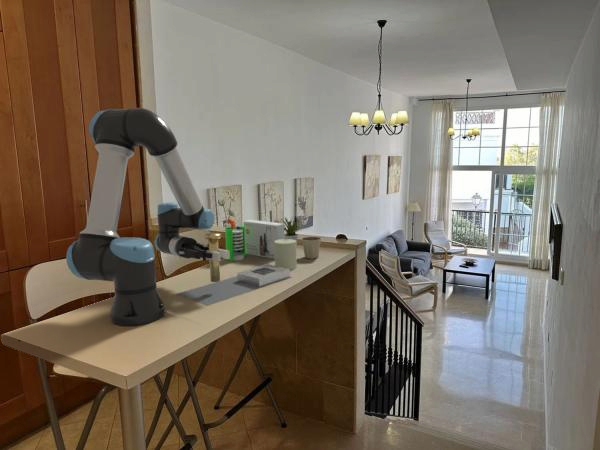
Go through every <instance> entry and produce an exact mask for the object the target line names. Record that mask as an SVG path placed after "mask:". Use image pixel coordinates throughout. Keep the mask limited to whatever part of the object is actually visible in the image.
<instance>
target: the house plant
mask: <svg viewBox="0 0 600 450" xmlns="http://www.w3.org/2000/svg"><path fill="white" fill-rule="evenodd" d="M292 217H293V215H291V217H290V218H292ZM283 218H284V220H283V219H282V218H280V217H279V220H280V223H282V224H284V239H293V240H296V247H297V245H298V238H299V234H298V233H296V232H299V230H300V229H301V227H302V225H301V226H300V225H298V223H300V221H301V220H302V219H303V217H301V218H299V220H296V218H295V217H293V219H290V221H289V220H288V218H287V217H286V216H284V217H283Z"/></svg>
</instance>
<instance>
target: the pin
mask: <svg viewBox="0 0 600 450" xmlns="http://www.w3.org/2000/svg"><path fill="white" fill-rule="evenodd" d="M204 236H205V240H208V243H209V250H210V251H214V252H219V247H218V246H219V239H221V238H222V233H219V232H210V233H205V235H204ZM208 261H209V276H210V279H209V281H210V282H211V283H215V282H219V281H221V277H220V276H221V275H220V274H221V273H220V261H216V260H212V259H208Z"/></svg>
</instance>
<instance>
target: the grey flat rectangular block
mask: <svg viewBox="0 0 600 450" xmlns="http://www.w3.org/2000/svg"><path fill="white" fill-rule="evenodd" d="M236 276H237V280H238V281H240V282H243V283H247V284H250V285H254V286H257V287H261V286H264V285H267V284H270V283H273V282H276V281H279V280H282V279H285V278H288V277H291V270H290V269H287V268H282V267H278V266H275V264H274V265H273V264H269V263H267V264H264V265H262V266H257V267H254V268H251V269H247V270H244V271H240V272H237V274H236Z"/></svg>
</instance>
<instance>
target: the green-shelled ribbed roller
mask: <svg viewBox="0 0 600 450" xmlns="http://www.w3.org/2000/svg"><path fill="white" fill-rule="evenodd" d="M226 221H227V222H226V224H229V225H230V226H227V227H225V228H224V233H225V250H228V251H229V252H230V259H226V260H227V261H229V262H234V261H241V260H244V259H245V258H246V253H245V227H244V226H239V225H238V226H237V225H236V223H235V219H233V218H229V219H226Z"/></svg>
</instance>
